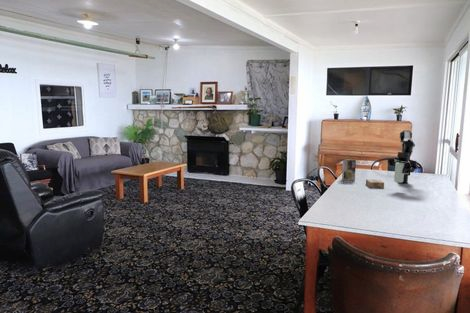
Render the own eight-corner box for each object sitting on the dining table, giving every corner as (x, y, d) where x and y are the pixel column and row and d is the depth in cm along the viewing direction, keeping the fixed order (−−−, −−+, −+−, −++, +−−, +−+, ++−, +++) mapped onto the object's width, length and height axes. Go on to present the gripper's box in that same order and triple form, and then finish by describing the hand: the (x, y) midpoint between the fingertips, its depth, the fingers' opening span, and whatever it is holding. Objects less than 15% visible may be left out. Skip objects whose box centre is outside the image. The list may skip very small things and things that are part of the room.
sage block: (396, 180, 258) (398, 162, 256) (403, 181, 255) (404, 163, 253) (394, 181, 255) (395, 163, 253) (400, 182, 252) (402, 163, 250)
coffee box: (353, 179, 295) (354, 159, 293) (355, 180, 289) (356, 160, 287) (341, 178, 296) (342, 158, 294) (343, 180, 290) (344, 160, 287)
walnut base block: (379, 185, 274) (379, 179, 274) (383, 188, 264) (384, 182, 264) (365, 184, 275) (366, 179, 274) (369, 187, 265) (369, 182, 265)
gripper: (390, 146, 261) (382, 163, 255) (417, 149, 248) (410, 167, 242) (393, 156, 268) (386, 173, 262) (421, 159, 255) (413, 177, 248)
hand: (398, 172), depth 253 cm, fingers closed on sage block, 4 cm apart
